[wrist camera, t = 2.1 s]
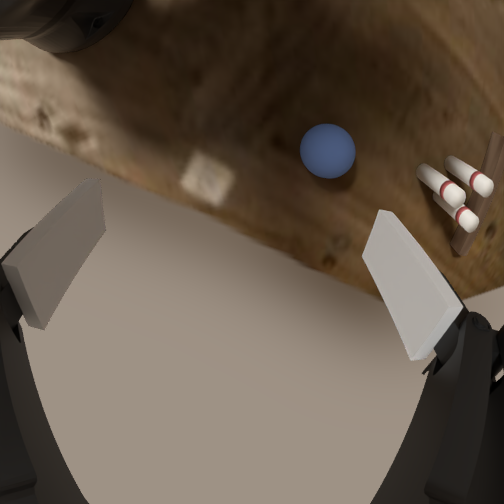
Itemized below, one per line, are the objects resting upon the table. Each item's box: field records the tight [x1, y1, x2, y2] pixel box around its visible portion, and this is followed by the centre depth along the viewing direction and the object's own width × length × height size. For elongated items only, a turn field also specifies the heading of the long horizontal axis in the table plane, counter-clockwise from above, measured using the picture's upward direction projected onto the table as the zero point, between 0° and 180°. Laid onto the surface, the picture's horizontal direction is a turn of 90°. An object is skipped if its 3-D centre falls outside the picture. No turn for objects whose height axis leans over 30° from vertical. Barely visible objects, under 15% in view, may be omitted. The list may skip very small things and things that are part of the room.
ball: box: [300, 124, 355, 178], centre depth 30 cm, size 6×6×6 cm
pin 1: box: [444, 155, 494, 197], centre depth 29 cm, size 2×2×8 cm
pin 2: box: [433, 191, 479, 233], centre depth 32 cm, size 2×2×8 cm
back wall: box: [450, 132, 504, 256], centre depth 34 cm, size 2×20×3 cm, turn 171°
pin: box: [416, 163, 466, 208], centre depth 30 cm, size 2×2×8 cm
